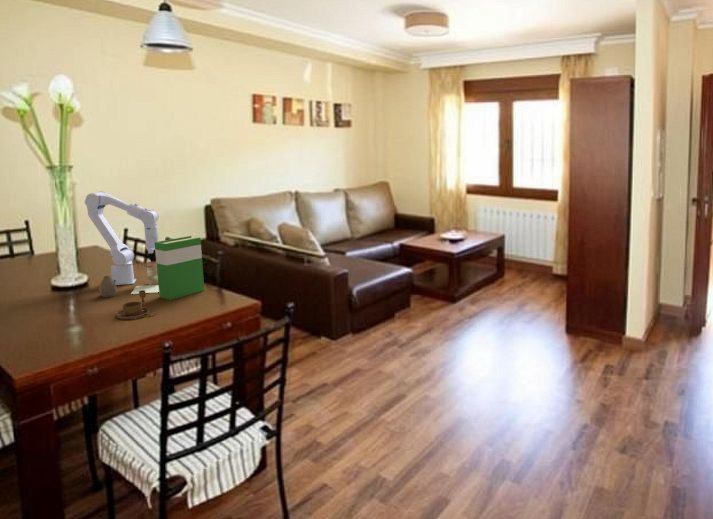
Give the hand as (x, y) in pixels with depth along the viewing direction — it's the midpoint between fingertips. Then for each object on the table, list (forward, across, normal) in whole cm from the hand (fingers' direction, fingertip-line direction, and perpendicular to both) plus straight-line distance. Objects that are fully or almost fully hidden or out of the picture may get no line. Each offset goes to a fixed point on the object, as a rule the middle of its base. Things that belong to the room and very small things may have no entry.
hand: (154, 265), depth 256 cm
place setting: (+9, -44, 0) cm, 45 cm away
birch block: (+8, -2, 0) cm, 8 cm away
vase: (+9, -18, +17) cm, 26 cm away
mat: (+8, -12, 0) cm, 14 cm away
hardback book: (+9, -22, -14) cm, 28 cm away
